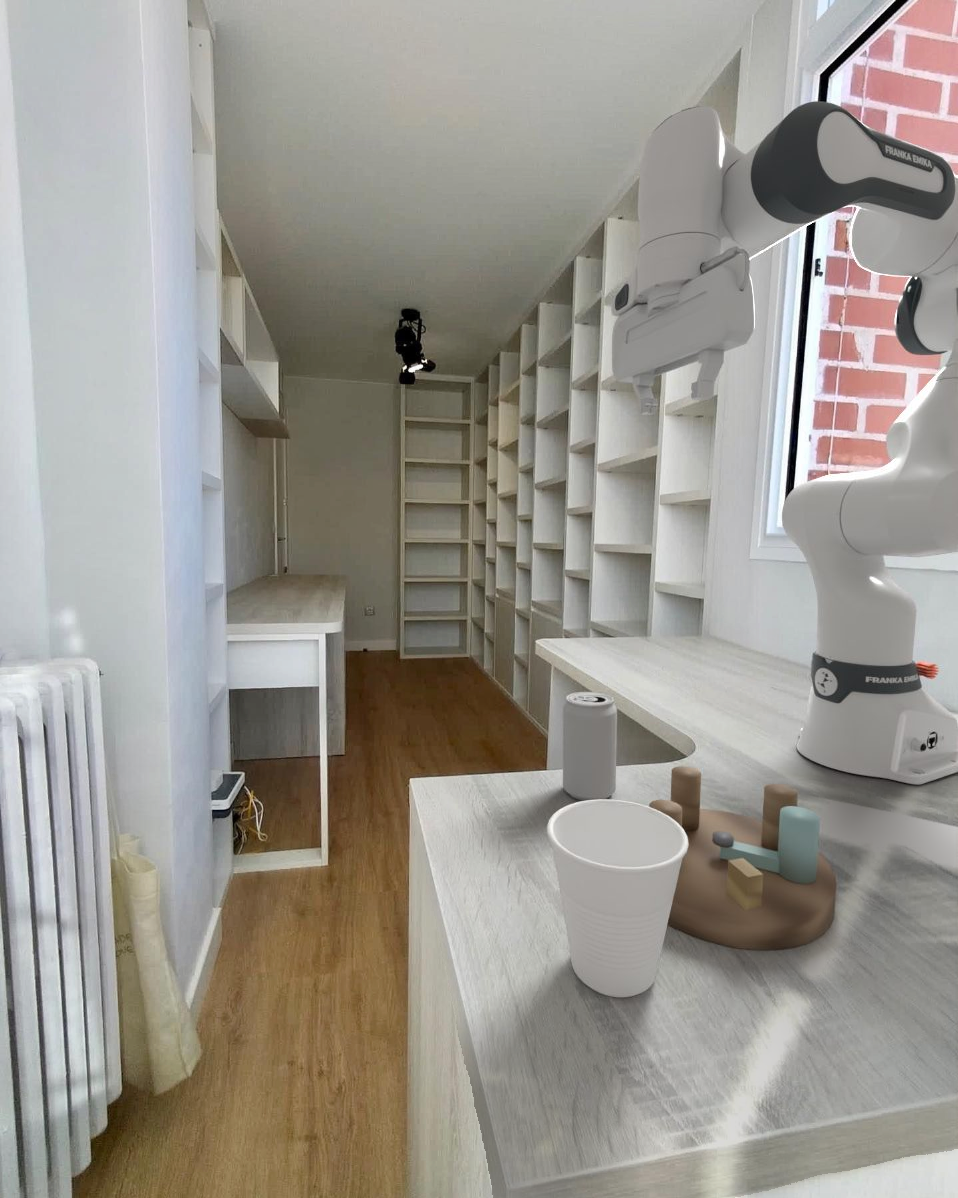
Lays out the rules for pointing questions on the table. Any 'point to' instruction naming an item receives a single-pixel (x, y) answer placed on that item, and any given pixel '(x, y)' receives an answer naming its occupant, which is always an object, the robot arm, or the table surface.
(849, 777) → the table surface
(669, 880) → the cup
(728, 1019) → the table surface
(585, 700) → the beverage can
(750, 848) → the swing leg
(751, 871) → the stool seat
